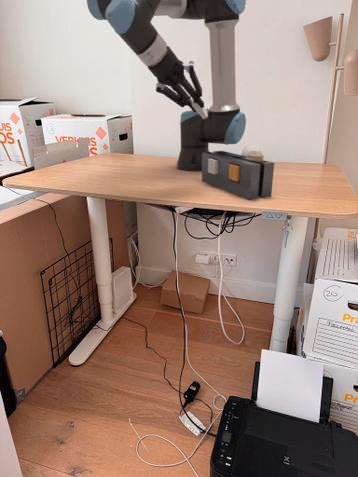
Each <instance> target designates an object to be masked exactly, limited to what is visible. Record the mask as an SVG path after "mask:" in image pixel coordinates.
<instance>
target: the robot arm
mask: <svg viewBox="0 0 358 477" xmlns="http://www.w3.org/2000/svg"><path fill="white" fill-rule="evenodd" d="M246 4H247V0H86V5H87V8H88V11H89V13H90V15H91V16H92V17H93V18H94V19H95V20H98V21H107V23H108V24H109V26H111V28H112V29H113V30H114V32H115V33H116V34H117V35H118V36H119V38H121V39H122V41H123V42H124V43H125V44H126V45H127V46H128V47H129V48H130V49H131V51H132V52H133V53H134V54H135V55H136V56H137V57H138V59H139V60H140V61H141V62H142V63H143V64H144V65H145V67H147V69H148V71H149V72H151V74H152V75H153V76H154V77H155V78H156V79H157V83H156V85H155V86H156V88H155V91H156V92H155V93H159V94H162V95H164V96H165V97H166V98H167V99H169V100H170V101H173V102H174V103H175V104H177V105H178V106H179V107H181V108H184V107H186V106H188V107H189V108H190V110H187V111H183V112H182V113H181V114H180V120H179V121H180V122H179V125H180V128H179V129H180V151H179V155H178V160H177V162H176V169H178V170H183V171H202V152H210V150H209V144H217V145H218V144H221V145H226V146H227V145H236V144H238V143H239V142H240V141H241V140H242V139H243V137H244V133H245V131H246V124H247V118H246V115H245V113H243V112H241V107H240V105H239V103H237V98H236V95H237V94H236V91H237V90H236V34H235V32H236V31H235V30H236V29H235V27H236V25H237V24H238V23H239V22H240V15H241V14H243V13H244V11H245V8H246ZM161 16H162V17H163V16H167V17H169V18H170V19H174V20H177V19H180V20H194V21H195V20H197V21H198V20H203V21H204V23H203V24H204V26H205V27H206V28H207V29H208V31H209V50H210V51H209V52H210V54H209V55H210V70H211V71H210V74H211V92H212V95H211V96H212V104H211V106H210V107H209V108H206V107H205V102H204V101H203V99H202V97H203V88H202V86H201V82H200V81H199V78H198V77H197V76H198V75H197V74H196V71H195V68H194V66H195V64H194V61H192V60H190V61H189V63H184V62H183V61H182V60H180V59H179V58H178V57H177V55H176V54H175V52H174V51H173V50H172V49H171V47H170V46H169V45H168V44H167V42H166V41H165V39H164V38H163V37H162V35H160V33H159V32H158V30H157V29H156V28H155V27H154V25H153V24H152V20H153V19H154V17H161ZM185 72H186V73H187V74H189V78H190V81H191V83H192V84H191V83H190V82H189V81H188V79H187V78H186V75H185Z"/></svg>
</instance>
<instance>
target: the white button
mask: <svg viewBox="0 0 358 477" xmlns="http://www.w3.org/2000/svg"><path fill="white" fill-rule="evenodd" d="M218 162H219V159H216V158H212V159H208V172H209V173H212V174H218Z"/></svg>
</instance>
